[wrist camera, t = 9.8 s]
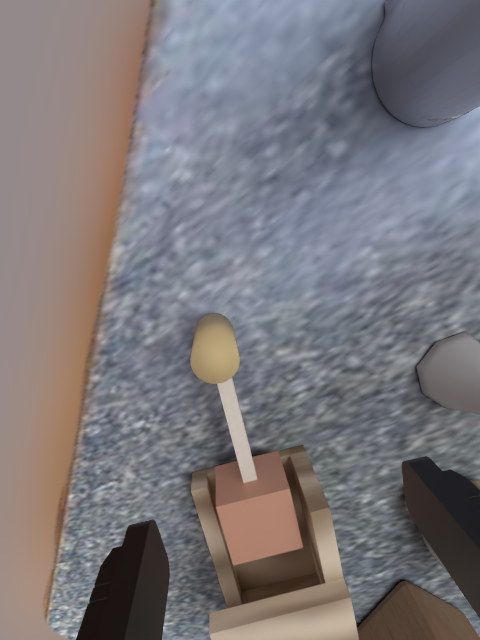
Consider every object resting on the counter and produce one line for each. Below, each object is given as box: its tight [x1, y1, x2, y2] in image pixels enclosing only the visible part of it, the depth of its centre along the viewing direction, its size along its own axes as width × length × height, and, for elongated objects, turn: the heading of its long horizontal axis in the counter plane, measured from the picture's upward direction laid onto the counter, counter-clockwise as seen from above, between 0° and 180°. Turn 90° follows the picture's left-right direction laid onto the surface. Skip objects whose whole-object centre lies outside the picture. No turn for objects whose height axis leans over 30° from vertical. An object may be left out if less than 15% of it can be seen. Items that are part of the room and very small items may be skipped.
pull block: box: [190, 313, 303, 566], centre depth 28 cm, size 20×6×7 cm, turn 13°
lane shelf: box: [191, 445, 359, 640], centre depth 31 cm, size 16×11×10 cm
